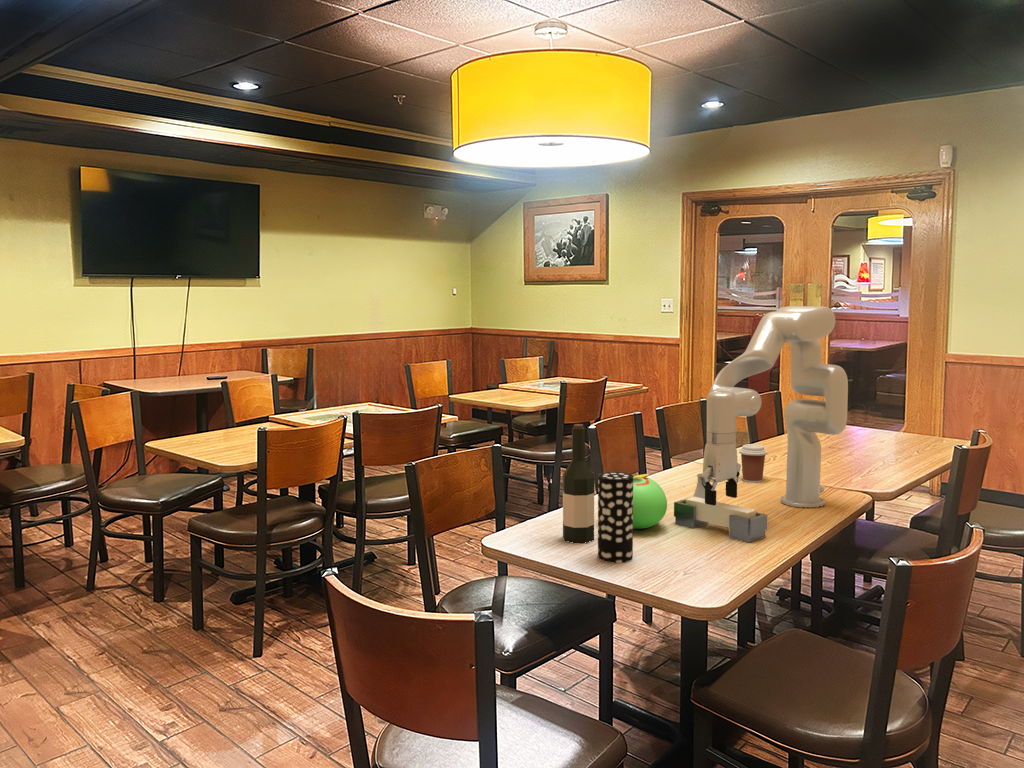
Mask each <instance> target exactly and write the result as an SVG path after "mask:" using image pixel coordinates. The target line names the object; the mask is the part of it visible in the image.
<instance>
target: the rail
mask: <svg viewBox="0 0 1024 768" xmlns="http://www.w3.org/2000/svg"><path fill="white" fill-rule="evenodd" d="M687 498H688V499H687ZM687 498H685V499H686V504H689V505H693V506H696V520H700V521H704V522H708V524H712V525H717V526H721V527H725V528H729V515H731V514H732V515H737V516H741V517H746V518H750V519H751V518H754V517H756V512H757V510H756V509H752V508H748V507H743V506H739V505H735V504H729V503H725V502H720V501H716V505H715V506H714V505H709V504H706V503H705V499H703V498H698V497H693V496H692V497H687Z"/></svg>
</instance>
